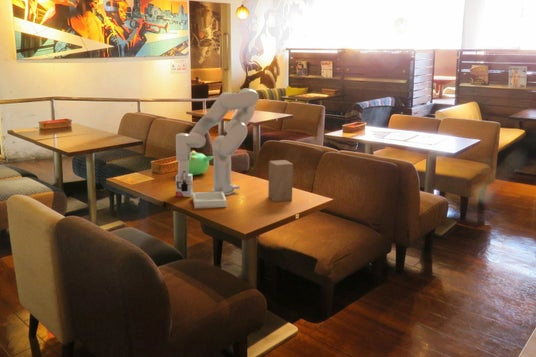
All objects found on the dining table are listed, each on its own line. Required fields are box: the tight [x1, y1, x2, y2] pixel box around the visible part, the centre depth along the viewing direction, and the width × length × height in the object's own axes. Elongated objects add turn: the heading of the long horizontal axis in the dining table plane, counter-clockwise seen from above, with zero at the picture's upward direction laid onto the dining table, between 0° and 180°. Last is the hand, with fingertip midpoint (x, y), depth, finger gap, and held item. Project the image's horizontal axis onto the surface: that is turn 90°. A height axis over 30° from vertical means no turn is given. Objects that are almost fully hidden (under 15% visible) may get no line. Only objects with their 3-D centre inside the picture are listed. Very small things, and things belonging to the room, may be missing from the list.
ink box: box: [175, 173, 194, 198], centre depth 270 cm, size 9×5×12 cm, turn 90°
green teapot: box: [188, 150, 214, 176], centre depth 314 cm, size 18×17×15 cm
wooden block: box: [267, 159, 294, 203], centre depth 267 cm, size 10×10×20 cm
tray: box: [192, 191, 228, 209], centre depth 259 cm, size 16×16×4 cm
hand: (184, 189), depth 270 cm, fingers open, 6 cm apart
